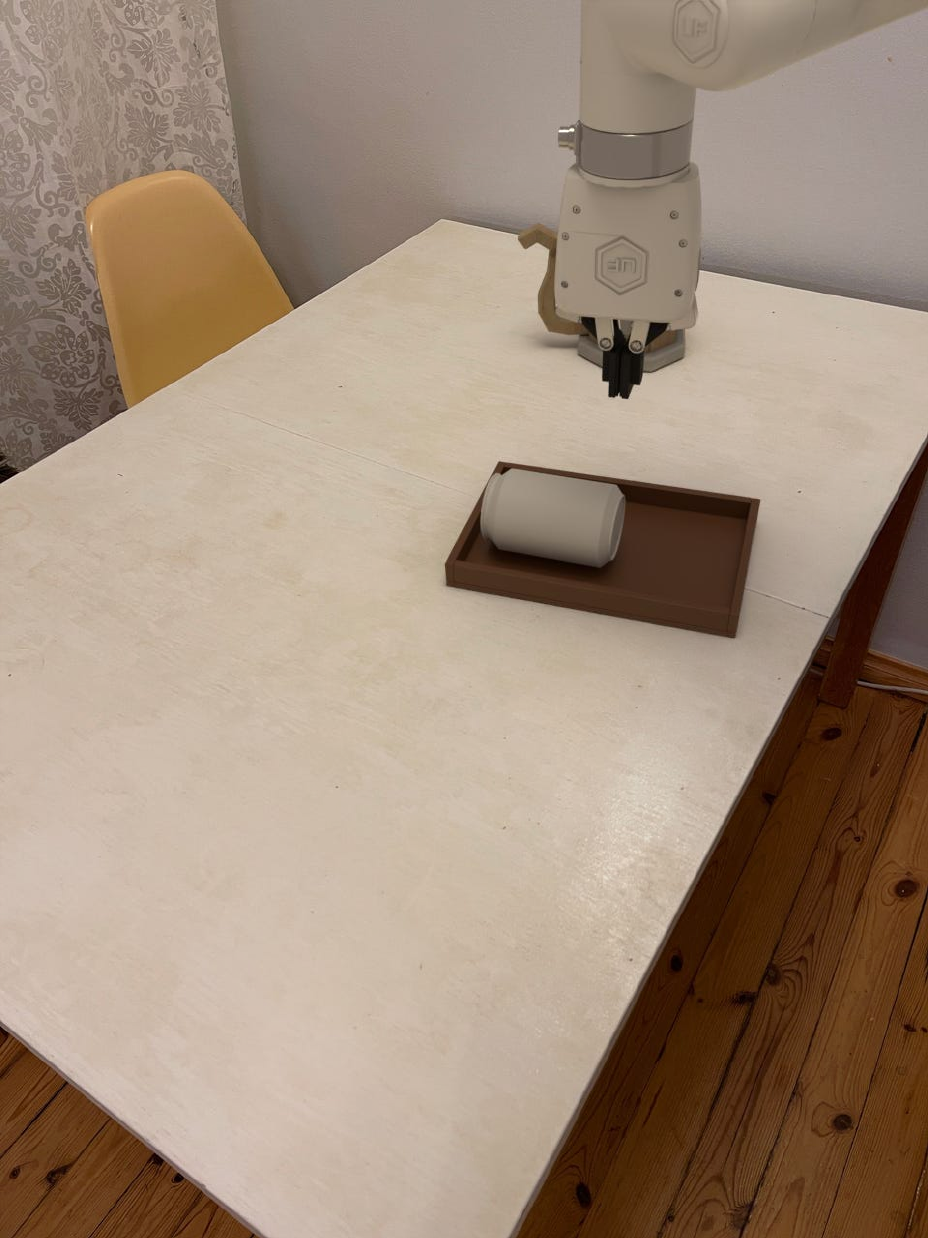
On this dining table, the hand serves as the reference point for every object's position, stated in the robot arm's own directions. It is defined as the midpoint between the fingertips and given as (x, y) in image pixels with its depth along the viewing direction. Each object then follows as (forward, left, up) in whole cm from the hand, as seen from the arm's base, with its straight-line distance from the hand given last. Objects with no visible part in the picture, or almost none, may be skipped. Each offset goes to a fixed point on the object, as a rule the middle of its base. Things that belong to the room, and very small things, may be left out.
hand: (621, 389), depth 78 cm
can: (-1, +1, -13) cm, 13 cm away
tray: (0, 0, -17) cm, 17 cm away
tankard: (+9, -39, -17) cm, 44 cm away
